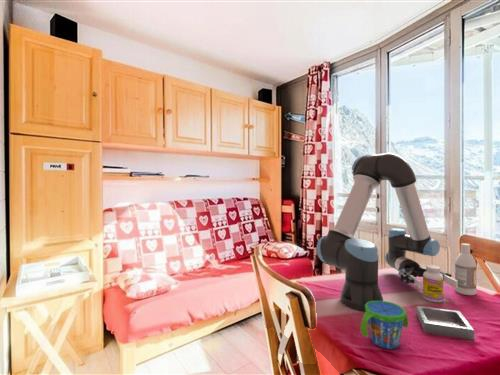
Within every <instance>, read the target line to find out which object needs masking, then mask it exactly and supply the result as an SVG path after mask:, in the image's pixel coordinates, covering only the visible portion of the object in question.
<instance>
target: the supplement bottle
mask: <svg viewBox="0 0 500 375" xmlns="http://www.w3.org/2000/svg"><path fill="white" fill-rule="evenodd" d="M425 269H426V270H427V271H426V272H424V273H423V277H422V297H423V298H424V300H426V301H428V302H431V303H443V301H444V281H443V275H442V274H440V271H441V272H442V270H441V267H440V266H438V265H436V264H435V265H434V264H427V265H426V266H425Z"/></svg>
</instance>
